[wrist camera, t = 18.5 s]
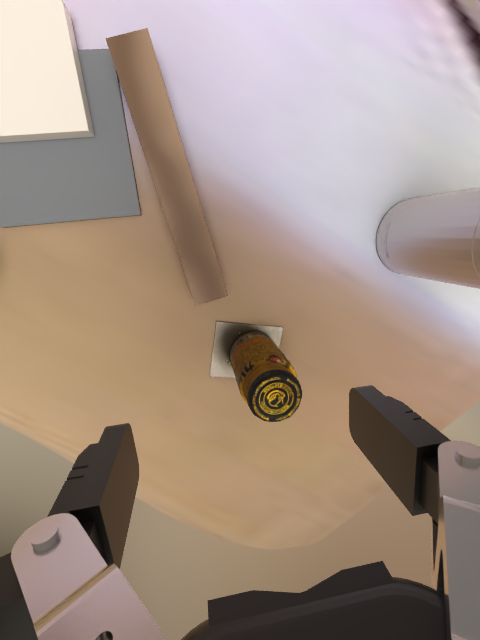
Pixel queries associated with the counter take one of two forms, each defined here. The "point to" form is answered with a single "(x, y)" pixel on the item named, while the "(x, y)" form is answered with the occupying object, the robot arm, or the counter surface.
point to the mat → (74, 162)
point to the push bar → (167, 162)
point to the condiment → (257, 368)
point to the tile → (40, 74)
